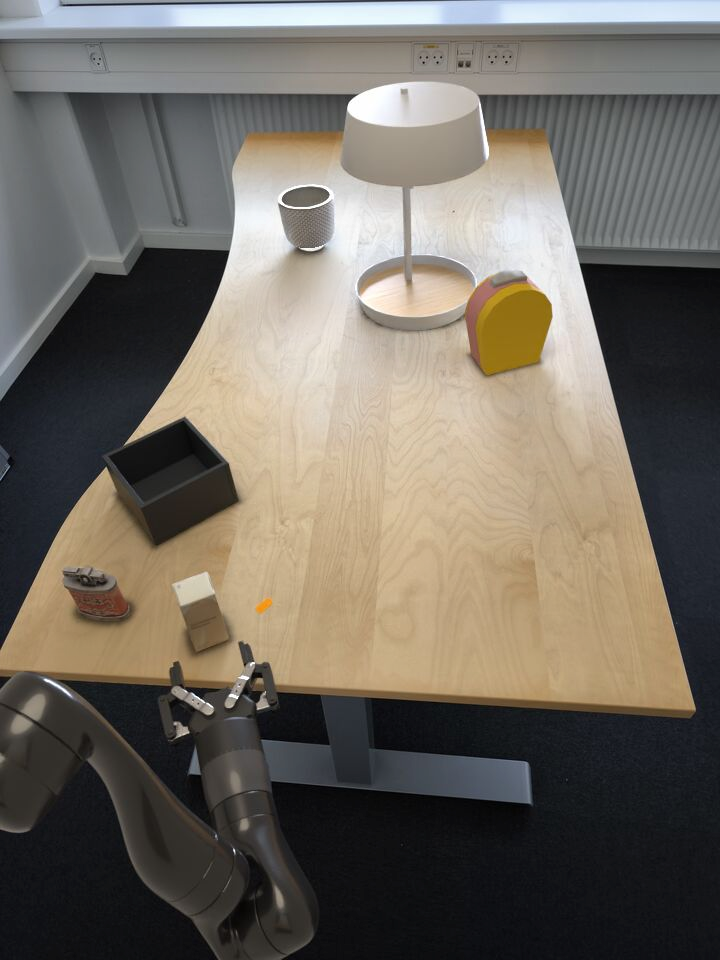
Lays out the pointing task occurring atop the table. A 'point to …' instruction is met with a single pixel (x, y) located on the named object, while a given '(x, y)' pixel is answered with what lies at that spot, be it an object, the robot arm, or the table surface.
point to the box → (201, 611)
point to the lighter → (95, 593)
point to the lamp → (407, 163)
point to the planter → (307, 215)
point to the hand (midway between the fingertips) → (209, 654)
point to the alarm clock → (507, 322)
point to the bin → (171, 479)
